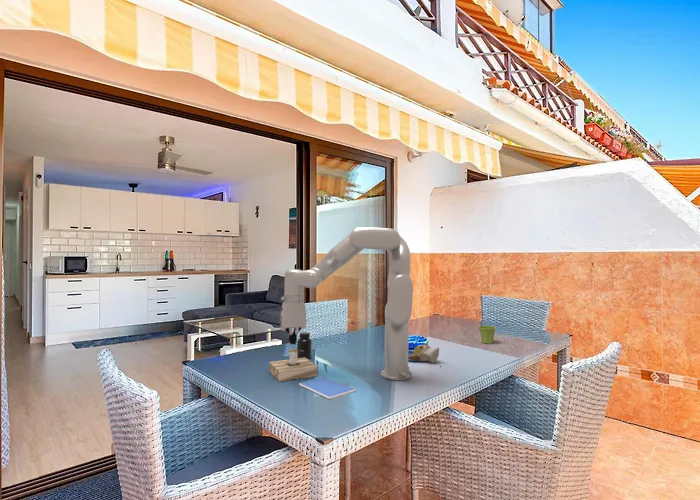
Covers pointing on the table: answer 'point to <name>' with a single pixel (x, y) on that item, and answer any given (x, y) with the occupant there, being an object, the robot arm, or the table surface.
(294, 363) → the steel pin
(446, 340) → the table surface
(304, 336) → the supplement bottle
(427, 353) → the ceramic sculpture
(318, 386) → the tablet computer
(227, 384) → the table surface
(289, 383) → the table surface
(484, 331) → the plant pot
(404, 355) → the robot arm
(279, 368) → the block
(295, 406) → the table surface
